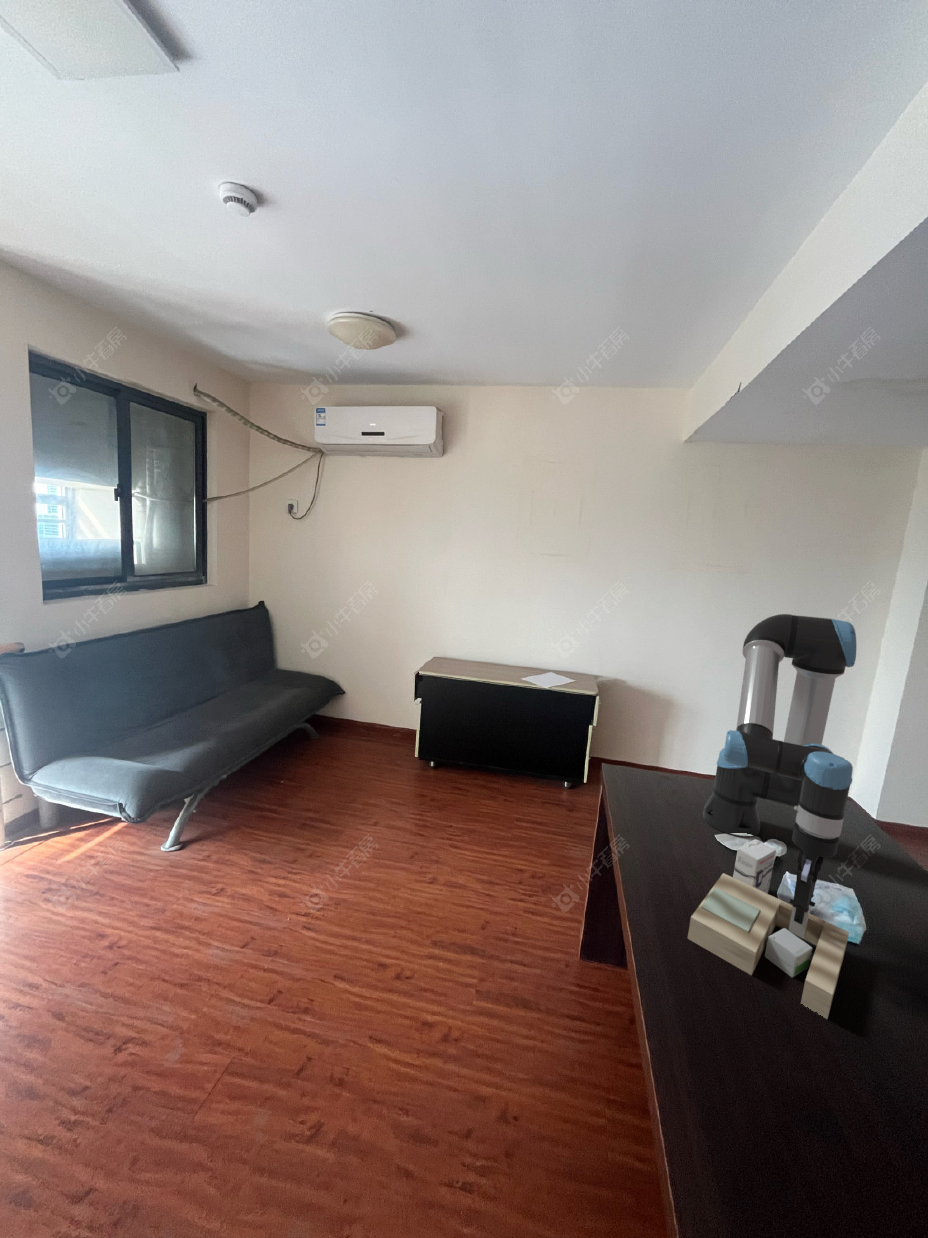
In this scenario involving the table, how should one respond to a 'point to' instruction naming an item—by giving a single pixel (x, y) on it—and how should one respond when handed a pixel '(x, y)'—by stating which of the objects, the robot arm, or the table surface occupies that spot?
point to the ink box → (755, 865)
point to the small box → (788, 952)
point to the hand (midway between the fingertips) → (796, 933)
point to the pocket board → (766, 936)
